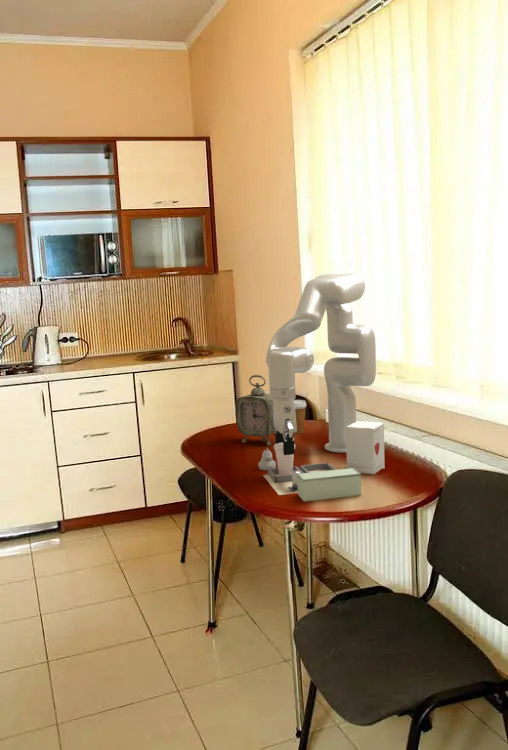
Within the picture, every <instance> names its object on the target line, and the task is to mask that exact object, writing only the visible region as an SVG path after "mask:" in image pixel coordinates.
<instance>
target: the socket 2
mask: <svg viewBox="0 0 508 750" xmlns="http://www.w3.org/2000/svg"><path fill="white" fill-rule="evenodd" d="M299 469H300V470H301V471H302V472H303V473H310V472H309V471H314V470H324V469H327V470H328V471H329V470H337V468H335V467H334V466H333V465H332V464H331V463H330V462H323V463H322V462H321V463H311V464H304V465H302V464H301V465H299Z"/></svg>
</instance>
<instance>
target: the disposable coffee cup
mask: <svg viewBox="0 0 508 750" xmlns="http://www.w3.org/2000/svg"><path fill="white" fill-rule="evenodd" d="M294 404H295V413H296V424H297V432H296V433H294V432H293V434H294V435H299V434H298V433H301V434H303V433H305V432H304V431H305V430H304V429H305V421H306V420H305V419H306V418H305V417H306V408H307V405H308V404H307V402H306V400H304V399H294Z"/></svg>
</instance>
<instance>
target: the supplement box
mask: <svg viewBox="0 0 508 750" xmlns="http://www.w3.org/2000/svg"><path fill="white" fill-rule="evenodd" d="M346 449H347V452H346V469H348V468H354V469H355V470H357V471H358V472H359V473H360V474H366V475H375V474H376V473H378V472H379V471H381V470H382V469H384V470H385V423H384V422H377V421H375V422H374V421H365V420H364V421H363V420H356V422H355V423H352V424H351V425H349V426H347V427H346Z"/></svg>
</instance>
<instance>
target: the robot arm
mask: <svg viewBox="0 0 508 750" xmlns="http://www.w3.org/2000/svg"><path fill="white" fill-rule="evenodd" d="M365 289H366V284H365V280H364V278H363V276H362V275H360V274H359V273H357V272H356V273H354V272H353V273H351V272H350V273H330V274H329V273H327V274H321V275H318V276H316V277H314V278H313V279H310V280H308V281H307V282H306V284H305V286H304V288H303V291H302V292H301V293H302V294H301V297H300V300H299V302H298V304H297V305H298V306H297V308H296V309H295V310H296V311H295V314H294V315H293V317H291V318H290V319H289V320H288V321H286V322H285V323H284V324H282V325H281V327H279V328H278V329H277V330H276V331H275V333H274V335H273V336H272V337H271V340H270V343H269V346H268V348H267V353H266V357H265V362H266V366H267V368H268V387H269V394H270V399H271V400H273V422H274V427H275V432H274V439H275V440H274V441H275V442H274V443H275V444H277V443H283V454H284V455H293V454H294V455H295V449H296V447H295V448H294V444H295V434H293V432H294V433H296V432H297V424H296V413H295V404H294V400H296V375H295V374H299V373H300V374H302V373H303V374H304V373H306V372H307V373H308V371H310V370H311V369H312V368H313V366H314V361H315V356H314V354H313V352H312V350H310V349H308V348H306V347H299V346H298V347H297V346H296V347H295V346H288V345H290V344H291V342H293V341H295V340H296V339H299V338H301V337H304V336H306V335H308V334H310V333H313V332H315V331H316V330H318V329H319V328H320V326H321V325H322V321H323V318H324V315H325V314H326V321H327V322H326V323H327V343H328V344H327V346H328V349H329V351H331V352H332V353H335V354H350V355H351V354H353V355H357V356H358V357H349V356H347V357H346V356H345V357H344V356H336V357H332V358H331V357H330V358H329V359H328V360H327V361H326V362H325V364H324V366H323V374H324V375H323V376H324V380H325V383H326V385H325V386H326V391H327V392H326V393H327V410H328V411H327V412H328V413H327V414H328V415H327V417H328V441H329V442H327V443H325V444H324V449H325V451H329V452H332V453H342V454H343V453H347V449H346V427H347V426H349V425H351V424H352V423H355V422H357V398H356V395H355V393H354V390H353V389H352V388H351V387H369V386H371V385H373V384H374V382H375V380H376V376H377V375H376V374H377V372H376V371H377V365H376V364H377V360H376V359H377V358H376V357H377V356H376V355H377V354H376V351H377V350H376V346H377V345H376V337H375V336H376V335H375V333H374V330H373V329H372V327H370V326H369V325H364V324H354V321H353V309H352V306H351V305H350V304H351V303H353V302H355V301H358V300H359V299H361V298H362V297H363V295H364V293H365ZM325 312H326V313H325ZM286 434H287V436H286ZM275 444H274V445H275Z"/></svg>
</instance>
